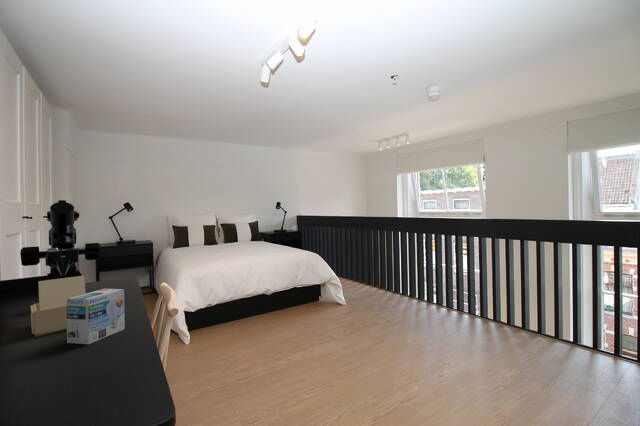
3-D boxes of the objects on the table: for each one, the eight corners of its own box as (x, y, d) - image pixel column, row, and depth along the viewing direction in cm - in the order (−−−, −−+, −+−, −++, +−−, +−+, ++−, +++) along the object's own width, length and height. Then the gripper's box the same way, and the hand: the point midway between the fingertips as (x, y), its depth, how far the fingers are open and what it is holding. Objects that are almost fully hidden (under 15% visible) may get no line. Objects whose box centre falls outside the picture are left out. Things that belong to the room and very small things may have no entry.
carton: (30, 325, 87) (30, 304, 87) (85, 314, 95) (85, 295, 96) (32, 337, 77) (31, 313, 77) (93, 324, 86) (92, 302, 86)
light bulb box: (88, 345, 71) (87, 299, 71) (65, 343, 73) (64, 298, 73) (126, 328, 82) (125, 288, 82) (105, 327, 83) (104, 287, 83)
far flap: (38, 281, 81) (38, 281, 81) (83, 276, 88) (84, 275, 87) (39, 311, 78) (39, 310, 78) (86, 303, 85) (86, 302, 85)
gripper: (97, 250, 109) (100, 286, 100) (24, 255, 97) (21, 297, 88) (98, 228, 103) (102, 264, 94) (21, 231, 91) (18, 273, 82)
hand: (63, 275), depth 90 cm, fingers closed
